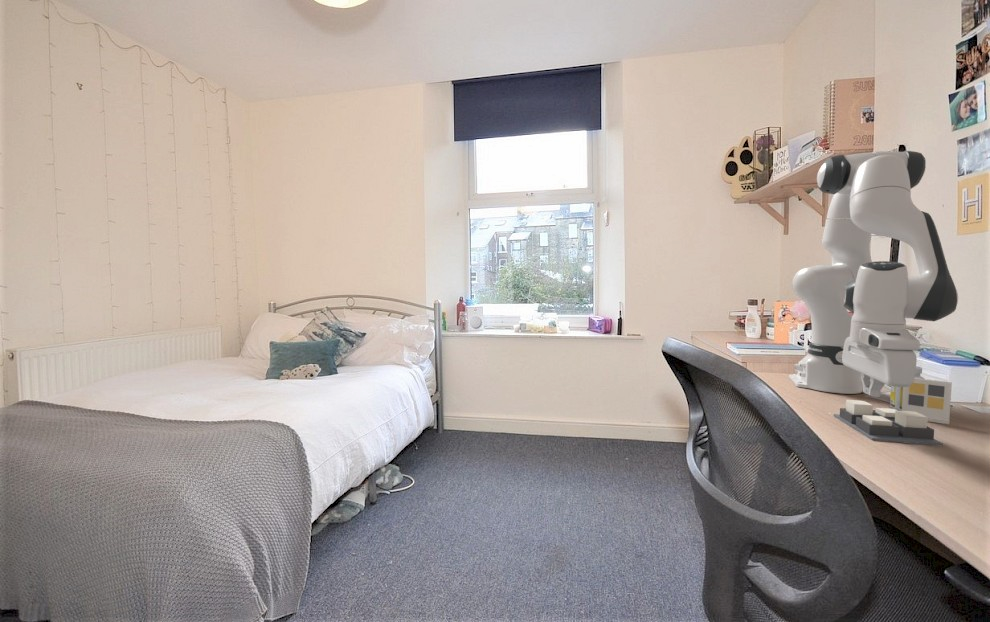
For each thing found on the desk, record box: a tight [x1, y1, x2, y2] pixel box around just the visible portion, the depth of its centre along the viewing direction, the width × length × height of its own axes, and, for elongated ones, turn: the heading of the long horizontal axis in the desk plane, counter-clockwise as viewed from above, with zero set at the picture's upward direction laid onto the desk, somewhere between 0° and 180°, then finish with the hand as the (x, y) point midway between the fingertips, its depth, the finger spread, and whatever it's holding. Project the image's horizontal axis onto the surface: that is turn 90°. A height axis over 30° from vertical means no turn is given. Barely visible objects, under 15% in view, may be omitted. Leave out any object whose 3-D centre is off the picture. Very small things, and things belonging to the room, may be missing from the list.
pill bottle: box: [889, 365, 925, 411], centre depth 106 cm, size 6×6×12 cm
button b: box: [895, 410, 928, 429], centre depth 88 cm, size 4×4×3 cm
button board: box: [833, 407, 944, 446], centre depth 93 cm, size 16×12×3 cm
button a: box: [875, 407, 899, 417], centre depth 95 cm, size 4×4×3 cm
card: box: [902, 378, 953, 425], centre depth 98 cm, size 2×8×10 cm, turn 44°
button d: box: [862, 415, 892, 426], centre depth 90 cm, size 4×4×3 cm
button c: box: [845, 399, 874, 416], centre depth 97 cm, size 4×4×3 cm
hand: (871, 395), depth 91 cm, fingers closed
